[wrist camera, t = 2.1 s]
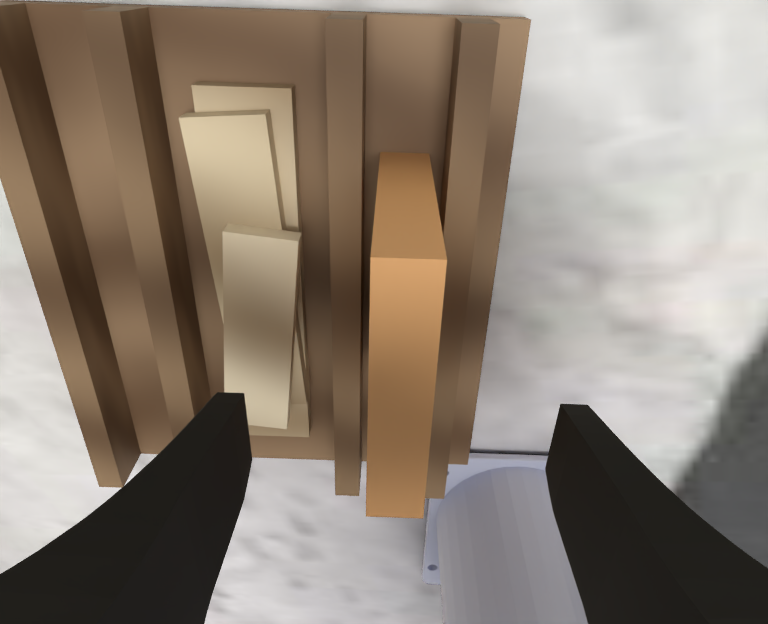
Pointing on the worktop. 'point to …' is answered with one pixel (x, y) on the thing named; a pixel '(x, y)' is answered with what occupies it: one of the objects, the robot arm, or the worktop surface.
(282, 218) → the offcut stack
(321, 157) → the rack
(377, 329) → the orange square slab
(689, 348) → the worktop surface
